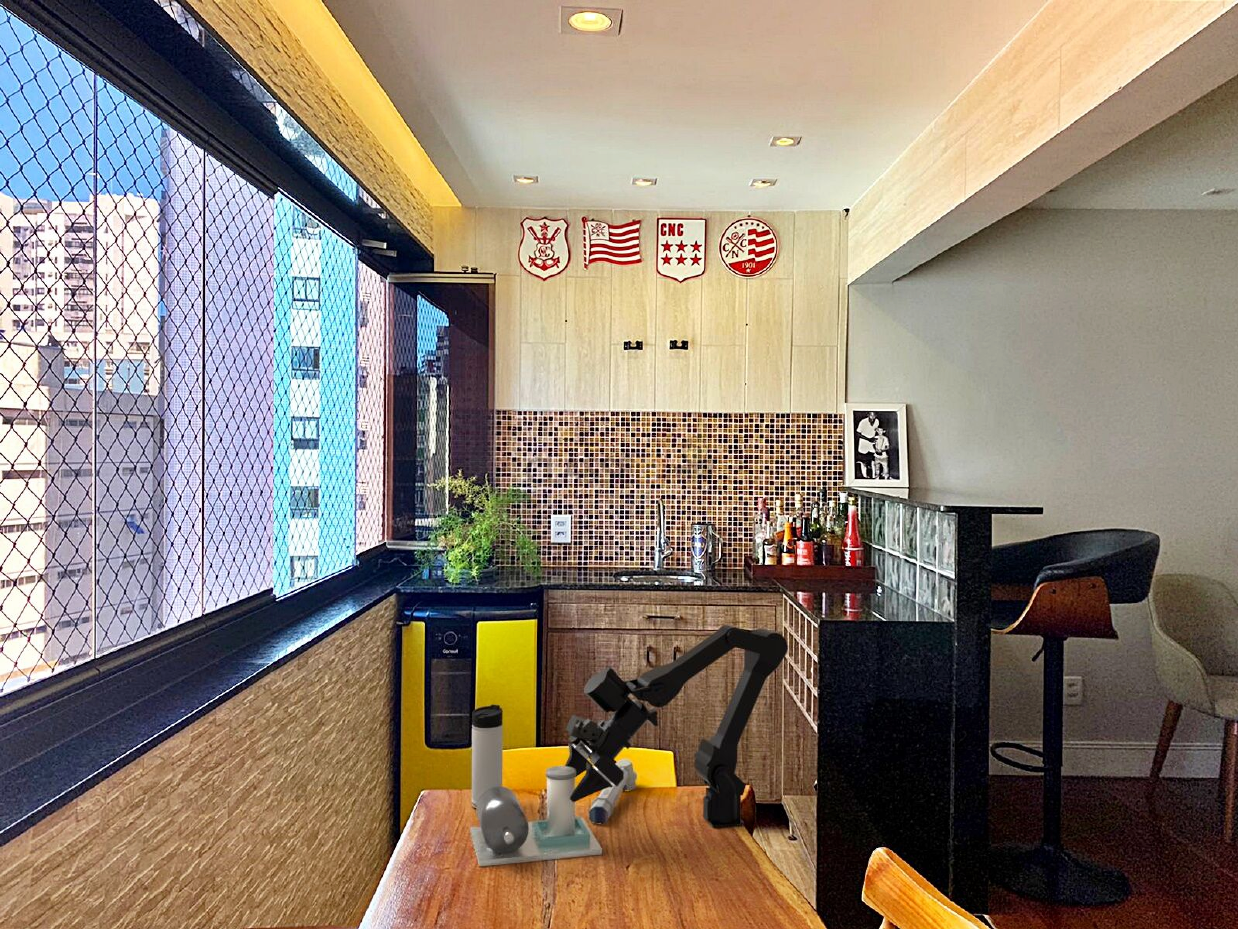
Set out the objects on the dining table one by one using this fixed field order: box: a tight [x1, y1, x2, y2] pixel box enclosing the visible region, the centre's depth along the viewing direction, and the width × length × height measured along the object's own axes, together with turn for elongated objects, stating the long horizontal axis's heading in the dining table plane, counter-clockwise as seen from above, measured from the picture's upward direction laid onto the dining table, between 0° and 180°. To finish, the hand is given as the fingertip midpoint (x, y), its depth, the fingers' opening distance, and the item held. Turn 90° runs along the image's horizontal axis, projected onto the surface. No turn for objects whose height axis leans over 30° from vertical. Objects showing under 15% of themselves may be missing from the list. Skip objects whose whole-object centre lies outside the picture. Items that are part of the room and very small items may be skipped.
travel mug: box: [471, 704, 504, 807], centre depth 196 cm, size 6×7×20 cm
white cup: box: [545, 765, 576, 837], centre depth 177 cm, size 6×6×12 cm
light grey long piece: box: [588, 758, 638, 825], centre depth 198 cm, size 5×7×25 cm
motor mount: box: [469, 786, 603, 867], centre depth 175 cm, size 22×18×9 cm
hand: (564, 792), depth 177 cm, fingers open, 9 cm apart
